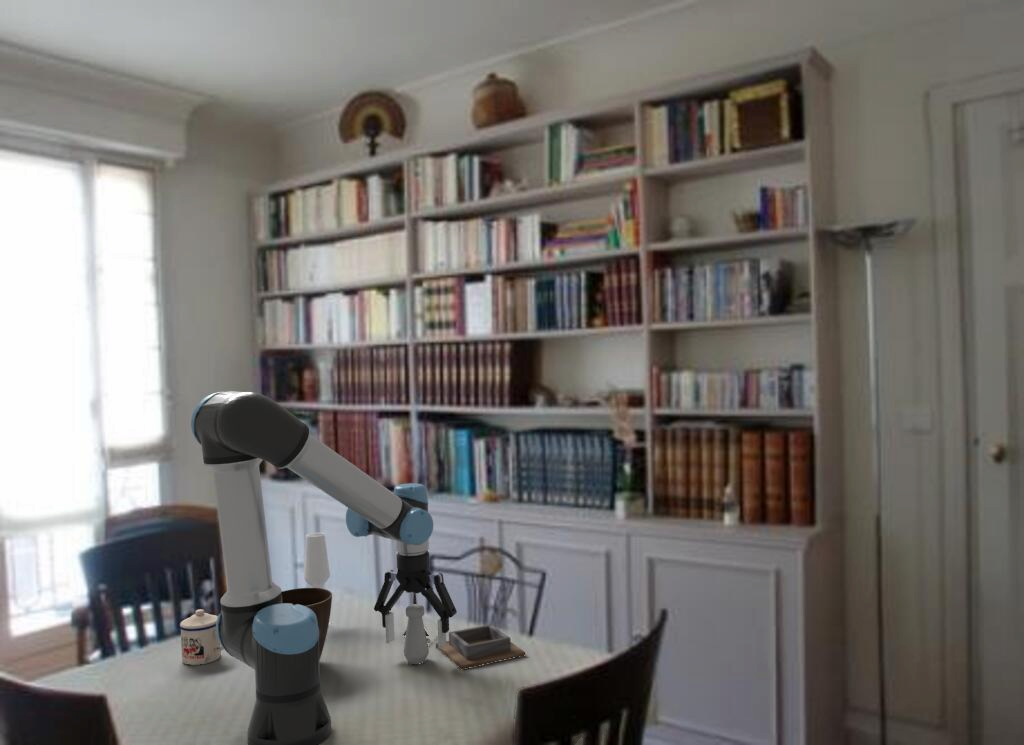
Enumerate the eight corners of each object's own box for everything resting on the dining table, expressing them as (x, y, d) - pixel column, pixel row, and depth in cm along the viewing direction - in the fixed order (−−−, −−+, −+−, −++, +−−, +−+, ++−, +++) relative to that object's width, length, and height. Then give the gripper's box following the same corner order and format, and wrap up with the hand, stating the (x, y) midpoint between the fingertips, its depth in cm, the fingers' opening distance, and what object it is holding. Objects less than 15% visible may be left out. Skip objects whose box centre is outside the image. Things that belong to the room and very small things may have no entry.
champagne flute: (324, 618, 220) (321, 530, 220) (336, 624, 215) (332, 534, 214) (301, 624, 216) (297, 534, 215) (312, 630, 211) (309, 538, 210)
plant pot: (311, 682, 177) (308, 609, 177) (253, 675, 182) (251, 604, 182) (346, 657, 192) (344, 589, 191) (292, 651, 196) (289, 585, 196)
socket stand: (525, 656, 189) (524, 639, 188) (461, 670, 182) (460, 652, 181) (496, 635, 203) (495, 619, 203) (435, 647, 196) (435, 631, 196)
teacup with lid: (172, 663, 191) (170, 614, 190) (199, 650, 199) (197, 603, 199) (213, 669, 187) (211, 619, 186) (240, 655, 195) (238, 606, 195)
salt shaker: (398, 664, 186) (396, 607, 186) (413, 655, 191) (411, 600, 191) (420, 667, 184) (418, 610, 183) (434, 659, 189) (432, 603, 188)
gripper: (468, 550, 186) (471, 642, 187) (373, 545, 194) (376, 633, 195) (455, 558, 179) (459, 654, 180) (357, 552, 187) (360, 644, 188)
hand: (416, 644), depth 187 cm, fingers open, 12 cm apart
